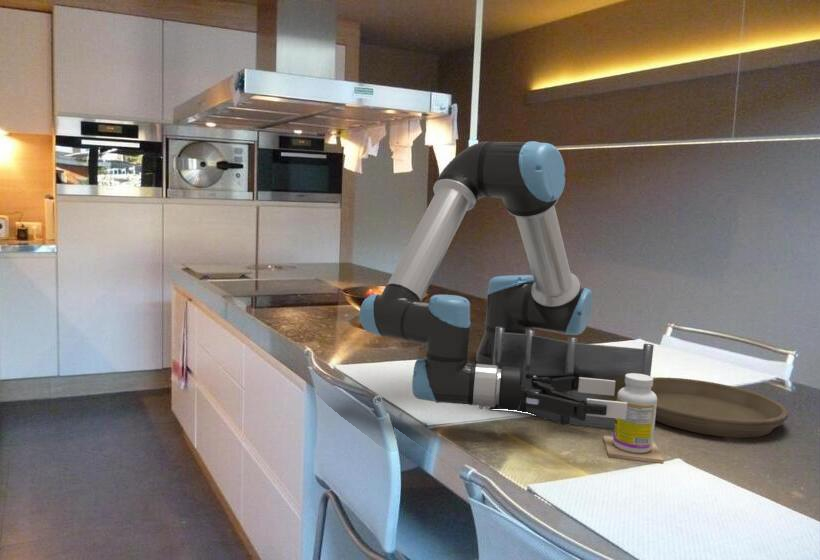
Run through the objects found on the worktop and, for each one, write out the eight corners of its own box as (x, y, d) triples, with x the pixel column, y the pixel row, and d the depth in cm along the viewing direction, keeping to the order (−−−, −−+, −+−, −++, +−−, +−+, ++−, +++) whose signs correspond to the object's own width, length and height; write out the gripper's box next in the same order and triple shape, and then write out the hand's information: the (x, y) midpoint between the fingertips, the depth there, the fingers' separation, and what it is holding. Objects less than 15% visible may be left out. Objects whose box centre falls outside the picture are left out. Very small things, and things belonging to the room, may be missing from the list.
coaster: (602, 438, 125) (603, 435, 125) (653, 444, 124) (654, 441, 124) (608, 456, 117) (608, 453, 117) (663, 463, 115) (663, 459, 115)
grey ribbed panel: (489, 407, 140) (495, 326, 138) (640, 423, 135) (649, 339, 133) (488, 416, 134) (494, 331, 132) (645, 433, 130) (654, 346, 127)
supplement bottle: (621, 437, 125) (628, 369, 123) (657, 447, 121) (665, 377, 119) (606, 446, 120) (613, 375, 118) (643, 457, 116) (651, 384, 114)
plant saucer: (670, 387, 165) (672, 368, 164) (809, 424, 142) (812, 403, 141) (596, 408, 144) (598, 387, 144) (745, 456, 121) (748, 432, 121)
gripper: (498, 387, 135) (608, 398, 132) (495, 430, 111) (629, 444, 108) (501, 351, 134) (612, 361, 131) (498, 385, 110) (634, 399, 107)
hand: (620, 398), depth 120 cm, fingers open, 13 cm apart
